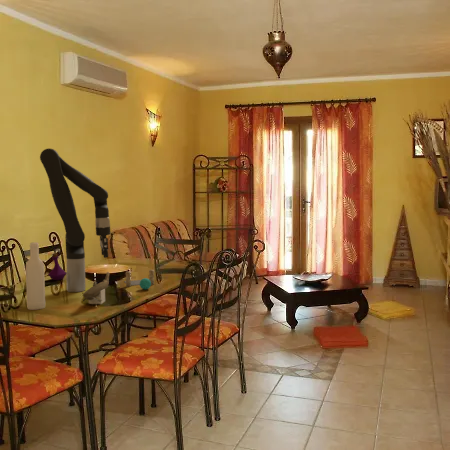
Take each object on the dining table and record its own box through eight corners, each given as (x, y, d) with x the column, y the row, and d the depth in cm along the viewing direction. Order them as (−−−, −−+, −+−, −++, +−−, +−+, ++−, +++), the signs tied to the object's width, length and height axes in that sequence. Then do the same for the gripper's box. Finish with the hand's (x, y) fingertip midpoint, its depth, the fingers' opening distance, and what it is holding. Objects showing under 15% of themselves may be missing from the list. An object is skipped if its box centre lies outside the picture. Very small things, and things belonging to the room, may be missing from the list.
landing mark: (128, 285, 287) (128, 285, 287) (123, 281, 298) (123, 281, 298) (150, 284, 292) (150, 283, 292) (144, 280, 303) (144, 279, 303)
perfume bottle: (47, 279, 302) (46, 249, 301) (57, 277, 309) (56, 247, 307) (57, 281, 299) (56, 250, 297) (67, 278, 305) (66, 248, 304)
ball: (141, 291, 274) (141, 279, 273) (138, 288, 279) (138, 277, 279) (152, 290, 276) (152, 278, 276) (149, 287, 282) (149, 276, 281)
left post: (126, 287, 284) (126, 272, 283) (125, 286, 286) (125, 271, 285) (131, 286, 285) (131, 272, 284) (130, 285, 287) (130, 271, 286)
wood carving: (117, 293, 269) (117, 271, 268) (95, 310, 234) (95, 286, 233) (100, 292, 270) (100, 271, 268) (76, 310, 235) (75, 285, 234)
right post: (150, 285, 289) (149, 270, 288) (148, 284, 291) (148, 270, 290) (154, 284, 290) (154, 270, 289) (153, 283, 292) (153, 269, 291)
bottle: (47, 305, 243) (45, 241, 240) (42, 309, 235) (40, 243, 232) (30, 305, 243) (28, 241, 240) (24, 310, 235) (22, 243, 232)
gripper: (94, 225, 282) (96, 255, 284) (97, 227, 269) (99, 259, 270) (108, 224, 284) (110, 253, 286) (111, 226, 271) (113, 257, 273)
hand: (104, 256), depth 278 cm, fingers open, 8 cm apart
